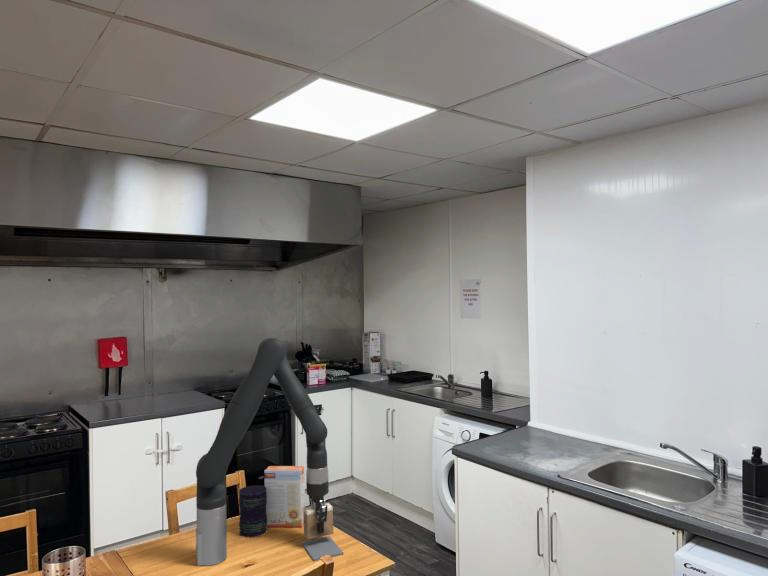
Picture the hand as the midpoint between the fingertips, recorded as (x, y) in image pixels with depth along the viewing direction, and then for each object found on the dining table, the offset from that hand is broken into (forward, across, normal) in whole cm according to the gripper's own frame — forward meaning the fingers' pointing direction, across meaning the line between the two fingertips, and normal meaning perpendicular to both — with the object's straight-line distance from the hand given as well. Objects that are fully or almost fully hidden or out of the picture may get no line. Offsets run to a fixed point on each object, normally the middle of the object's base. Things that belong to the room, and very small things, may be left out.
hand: (318, 529), depth 177 cm
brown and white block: (+1, 0, 0) cm, 1 cm away
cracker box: (+5, -22, -6) cm, 23 cm away
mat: (+5, +4, 0) cm, 6 cm away
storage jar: (+5, -20, -18) cm, 28 cm away
